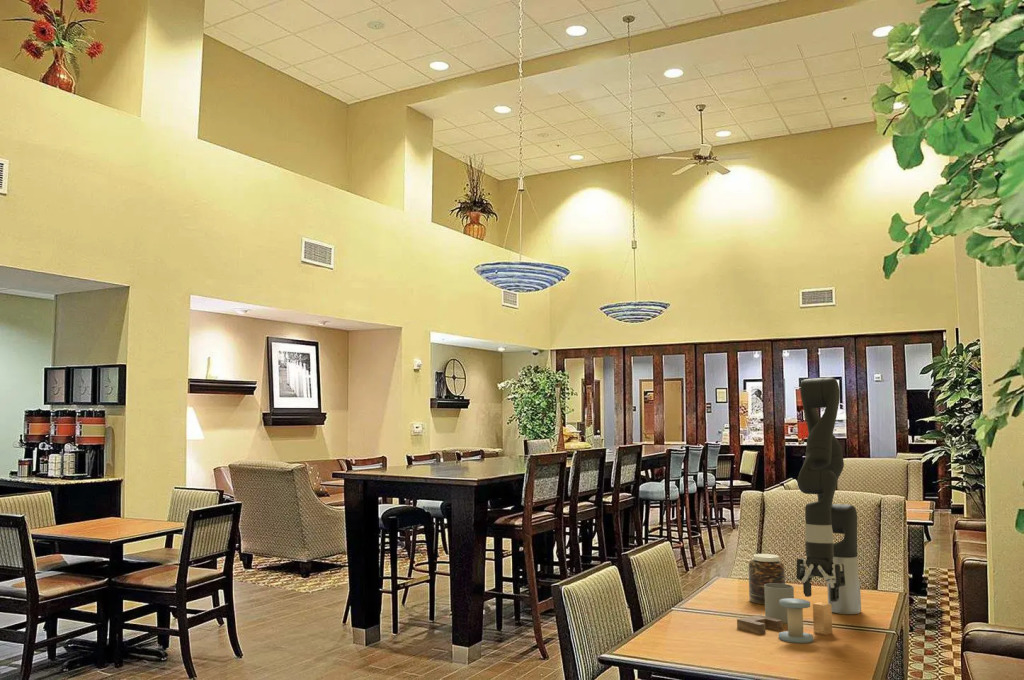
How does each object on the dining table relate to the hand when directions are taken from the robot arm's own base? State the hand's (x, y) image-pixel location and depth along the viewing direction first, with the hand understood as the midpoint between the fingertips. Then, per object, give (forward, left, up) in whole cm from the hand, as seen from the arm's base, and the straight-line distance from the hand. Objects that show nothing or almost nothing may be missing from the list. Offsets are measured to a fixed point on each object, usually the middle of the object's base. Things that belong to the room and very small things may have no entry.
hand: (820, 598), depth 231 cm
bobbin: (+12, 0, -9) cm, 15 cm away
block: (0, 0, -9) cm, 9 cm away
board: (+11, -13, -9) cm, 19 cm away
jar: (-21, -36, -10) cm, 43 cm away
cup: (-3, -17, -10) cm, 20 cm away
